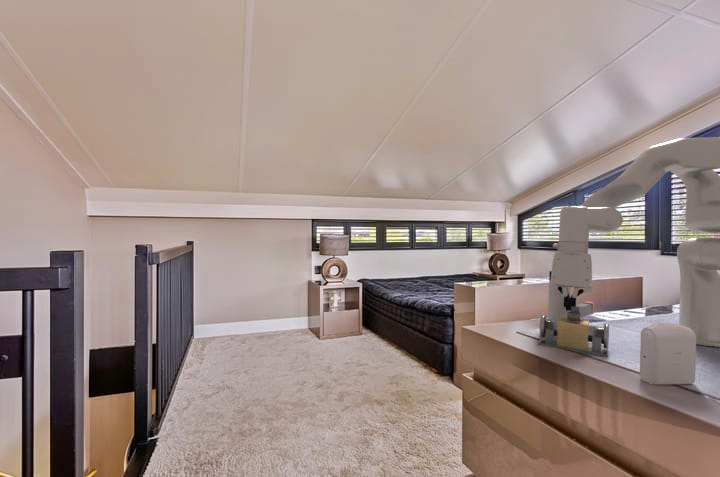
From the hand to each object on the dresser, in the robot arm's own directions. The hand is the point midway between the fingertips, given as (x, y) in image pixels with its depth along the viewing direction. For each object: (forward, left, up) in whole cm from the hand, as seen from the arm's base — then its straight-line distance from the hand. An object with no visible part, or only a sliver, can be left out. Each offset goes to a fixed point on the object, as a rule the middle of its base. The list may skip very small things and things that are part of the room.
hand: (569, 310), depth 103 cm
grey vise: (-1, +6, -9) cm, 11 cm away
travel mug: (+4, -10, -9) cm, 14 cm away
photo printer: (-19, +22, -9) cm, 31 cm away
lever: (-3, 0, -2) cm, 3 cm away
